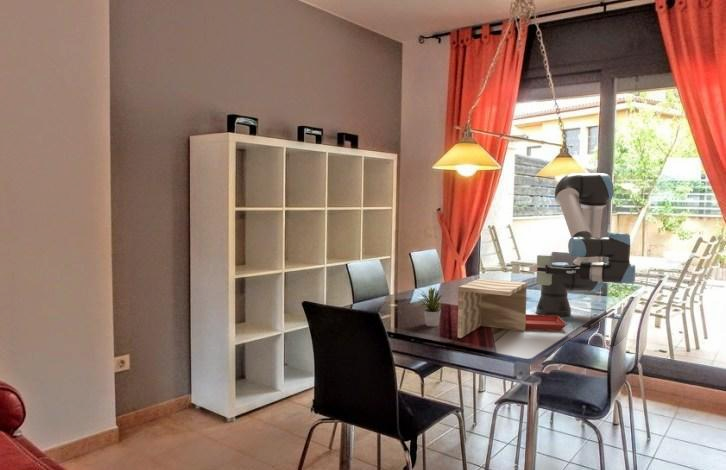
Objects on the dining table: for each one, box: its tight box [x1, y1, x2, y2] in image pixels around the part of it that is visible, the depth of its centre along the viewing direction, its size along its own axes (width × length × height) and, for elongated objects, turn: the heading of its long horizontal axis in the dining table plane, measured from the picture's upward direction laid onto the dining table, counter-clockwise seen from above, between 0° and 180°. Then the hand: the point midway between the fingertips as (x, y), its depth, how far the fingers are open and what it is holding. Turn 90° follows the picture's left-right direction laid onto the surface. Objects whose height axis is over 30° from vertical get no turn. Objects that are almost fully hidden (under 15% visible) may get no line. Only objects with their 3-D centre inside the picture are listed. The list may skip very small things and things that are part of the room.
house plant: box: [417, 286, 447, 327], centre depth 225 cm, size 14×14×16 cm
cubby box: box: [457, 278, 528, 339], centre depth 210 cm, size 24×20×20 cm
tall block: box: [535, 253, 553, 286], centre depth 221 cm, size 5×5×12 cm
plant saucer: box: [525, 313, 567, 332], centre depth 224 cm, size 18×18×3 cm
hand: (531, 267), depth 223 cm, fingers closed on tall block, 5 cm apart
